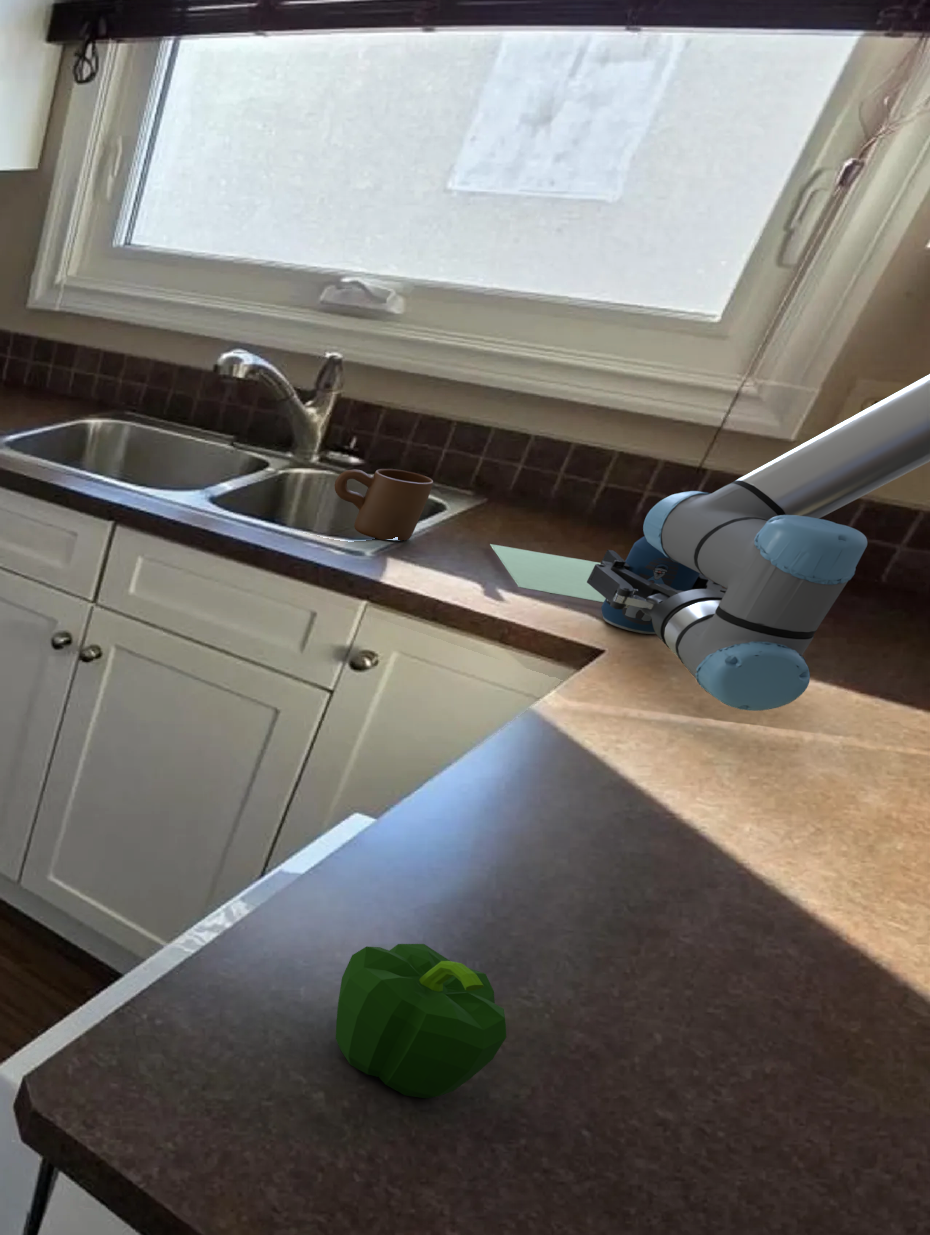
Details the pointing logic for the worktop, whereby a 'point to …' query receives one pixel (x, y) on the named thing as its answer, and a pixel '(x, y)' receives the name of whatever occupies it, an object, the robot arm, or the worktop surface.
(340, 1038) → the bell pepper
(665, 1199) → the worktop surface
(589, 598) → the mat
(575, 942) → the worktop surface
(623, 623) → the soda can
